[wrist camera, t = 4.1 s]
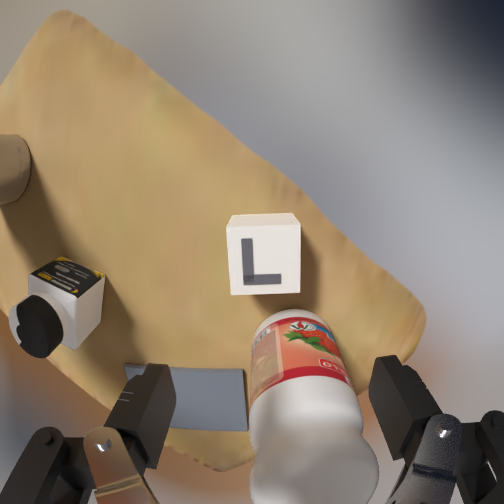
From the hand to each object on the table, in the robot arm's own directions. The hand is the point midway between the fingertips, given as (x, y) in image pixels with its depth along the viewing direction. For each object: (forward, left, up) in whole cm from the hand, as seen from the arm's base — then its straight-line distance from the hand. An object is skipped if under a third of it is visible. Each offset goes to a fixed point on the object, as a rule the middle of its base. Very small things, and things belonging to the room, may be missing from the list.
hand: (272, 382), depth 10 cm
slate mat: (-11, -22, -21) cm, 32 cm away
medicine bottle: (-23, -5, -21) cm, 32 cm away
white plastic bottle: (+3, -12, -21) cm, 24 cm away
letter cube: (0, 0, -21) cm, 21 cm away
